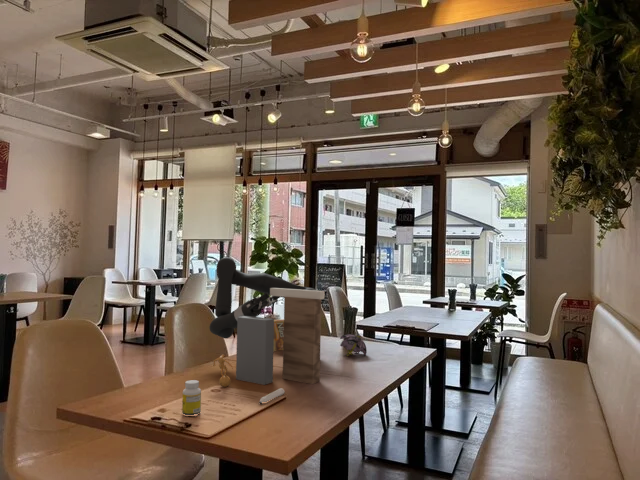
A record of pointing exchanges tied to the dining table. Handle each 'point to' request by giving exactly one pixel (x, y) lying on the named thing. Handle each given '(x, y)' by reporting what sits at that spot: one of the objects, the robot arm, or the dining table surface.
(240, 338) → the grey rectangular box
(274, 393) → the marker
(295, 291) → the bar
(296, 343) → the tall wooden block
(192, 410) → the supplement bottle
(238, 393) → the dining table surface
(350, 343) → the decorative flower
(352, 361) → the dining table surface
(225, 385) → the figurine
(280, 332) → the candy box
